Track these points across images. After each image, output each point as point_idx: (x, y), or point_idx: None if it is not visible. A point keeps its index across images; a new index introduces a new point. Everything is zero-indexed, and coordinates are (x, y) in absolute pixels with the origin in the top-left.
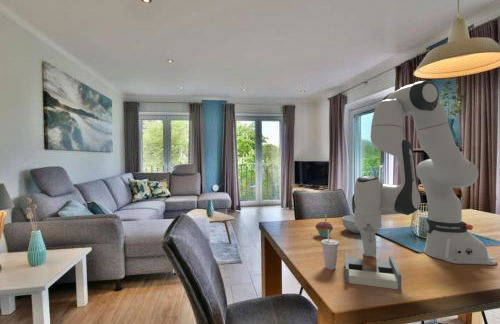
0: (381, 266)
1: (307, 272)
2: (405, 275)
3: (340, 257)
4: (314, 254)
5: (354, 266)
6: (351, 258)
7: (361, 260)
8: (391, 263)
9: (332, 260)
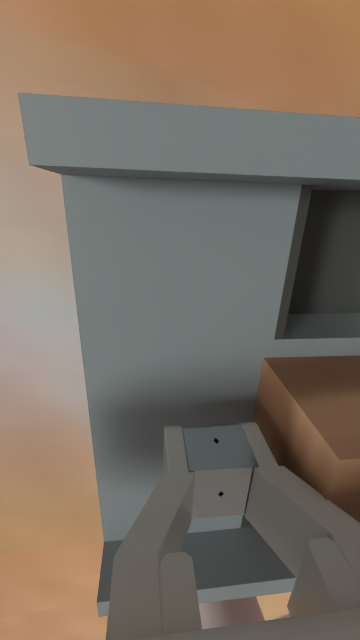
0: (271, 301)
1: (285, 601)
2: (247, 18)
3: (4, 532)
4: (29, 631)
5: None
6: (127, 521)
7: (148, 459)
8: (282, 179)
9: (262, 615)
